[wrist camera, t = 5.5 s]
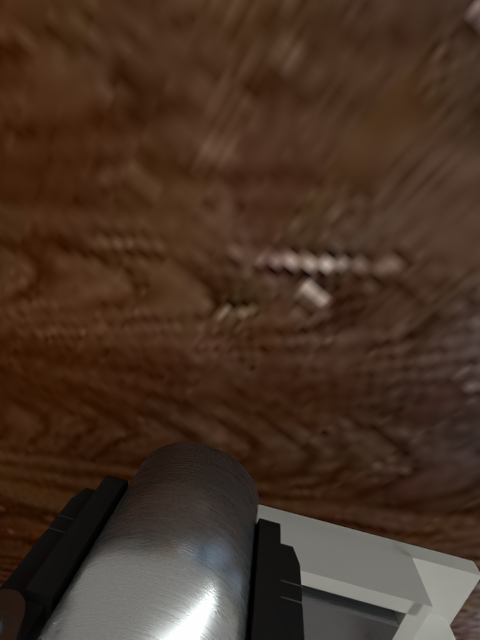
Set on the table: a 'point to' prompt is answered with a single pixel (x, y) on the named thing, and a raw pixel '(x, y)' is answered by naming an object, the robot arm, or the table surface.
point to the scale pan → (344, 618)
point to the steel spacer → (169, 555)
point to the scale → (380, 573)
